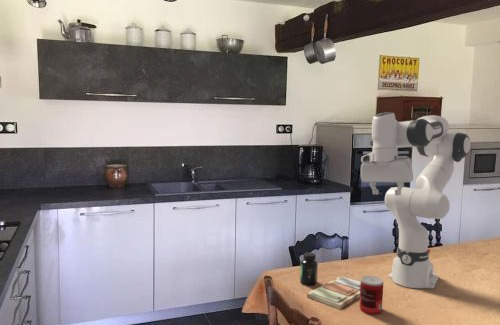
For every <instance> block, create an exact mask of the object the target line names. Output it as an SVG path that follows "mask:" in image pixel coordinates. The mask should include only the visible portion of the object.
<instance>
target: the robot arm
mask: <svg viewBox="0 0 500 325" xmlns="http://www.w3.org/2000/svg"><path fill="white" fill-rule="evenodd" d="M449 131H450V124H449V122H448V120H447V119H446V118H444V117H443V116H440V115H434V114H433V115H424V116H421V117H418V118H417V119H412V120H405V121H398V120H397V119H396V115H395V112H392V111H386V112H385V111H384V112H380V113H376V114H375V115H373V117H372V120H371V140H372V150H371V151H372V152H369V153H367V154H364V155H363V156H361V158H360V162H361V165H360V181H361V182H362V183H369V187H370V189H371V190H372V195H376V196H377V195H379V194H380V192H379V191H380V190H379V189H377V187H376V185H377V183H396V186H394V187H393V186H391V187H390V188H389V189H388V190H387V191H386V192H385V196H384V204H385V207H386V208H387V209H388V210H389V211H390V212H391V213H392V215H393V217H394V218H395V222H396V223H397V226H398V246H397V249H396V256H395V257H394V258H393V262H392V269H391V272H390V273H388V274H387V275H388V277H389V278H390V279H391V280H392V281H393V282H394V283H395V284H397V285H399V286H401V287H404V288H405V287H406V288H410V289H435V287H436V285H437V283H438V280H439V278H440V277H439V275H438V274H437V273H435V272H434V264H433V262H431V260H430V259H429V258H430V257H429V256H430V255H429V254H430V253H431V248H428V245H429V244H428V243H429V233H428V229H427V228H426V227H425V226H424V225H422V224H421V223H420V222H419V220H418V219H417V218H424V219H429V220H431V219H433V220H435V219H436V220H439V219H441V220H442V219H444V218H445V217H446V216H447V215H448V213H449V212H450V207H451V204H450V200H449V198H448V197H447V195H446V194H444V193H443V190H444V189H445V187H446V186H447V184H448V183H449V182H450V180H451V178H452V175H453V172H454V169H455V165H454V163H459V162H461V161H462V159H464V158H465V157H466V156H467V155H469V153H470V150H471V145H472V144H471V138H470V137H469V135H468V134H466V133H462V132H449ZM413 147H414V148H415V147H416V151H417V152H418V153H419V155H420V156H422V157H427V158H429V157H431V158H433V159H432V160H431V161H430V162H429V163H428V164H427V165H426V166H425V167H424V169H423V170H422V171H421V172H420V174H418V175H417V177H416V180H415V186H416V188H414V187H413V188H412V187H407V186H405V183H411V182H413V180H414V171H413V167H412V159H411V157H409V156H408V155H399V151H398V149H399V148H400V149H401V148H413Z"/></svg>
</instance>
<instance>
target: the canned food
mask: <svg viewBox="0 0 500 325" xmlns="http://www.w3.org/2000/svg"><path fill="white" fill-rule="evenodd" d="M360 282H361V286H360V297H359V309H360V311H361V312H363V313H365V314H367V315H379V314H381V312H382V309H383V295H384V294H383V293H384V280H383V279H382V278H381V277H378V276H375V275H364V276H361V278H360Z"/></svg>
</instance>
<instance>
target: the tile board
mask: <svg viewBox="0 0 500 325" xmlns="http://www.w3.org/2000/svg"><path fill="white" fill-rule="evenodd" d="M360 286H361V281H359V280H356V279H351V278H348V277H345V276H338V277H336V278H334V279H331V281H329V282H327V283H325V284H323V285H320V286H318V287H317V288H314V289H312V290H310V291H309V292H307V293H306V298H309V299H312V300H314V301H316V302H319V303H322V304H326V305H328V306H330V307H333V308H336V309H338V310H341V309H342V308H344V307H345V306H347V305H348V304H351V303H352V302H353V301H355V300H357V299H360Z"/></svg>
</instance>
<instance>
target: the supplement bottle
mask: <svg viewBox="0 0 500 325" xmlns="http://www.w3.org/2000/svg"><path fill="white" fill-rule="evenodd" d="M316 258H317V256H316V253H313V252H304V253H303V257H302V260H301V262H300V272H299V277H300V278H299V280H300V281H299V282H300V283H301V285H303V286H308V287H312V286H315V285H316V286H317V284H318V273H319V272H318V271H319V270H318V268H319V264H318V263H319V262H318V261H317V260H316Z"/></svg>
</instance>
